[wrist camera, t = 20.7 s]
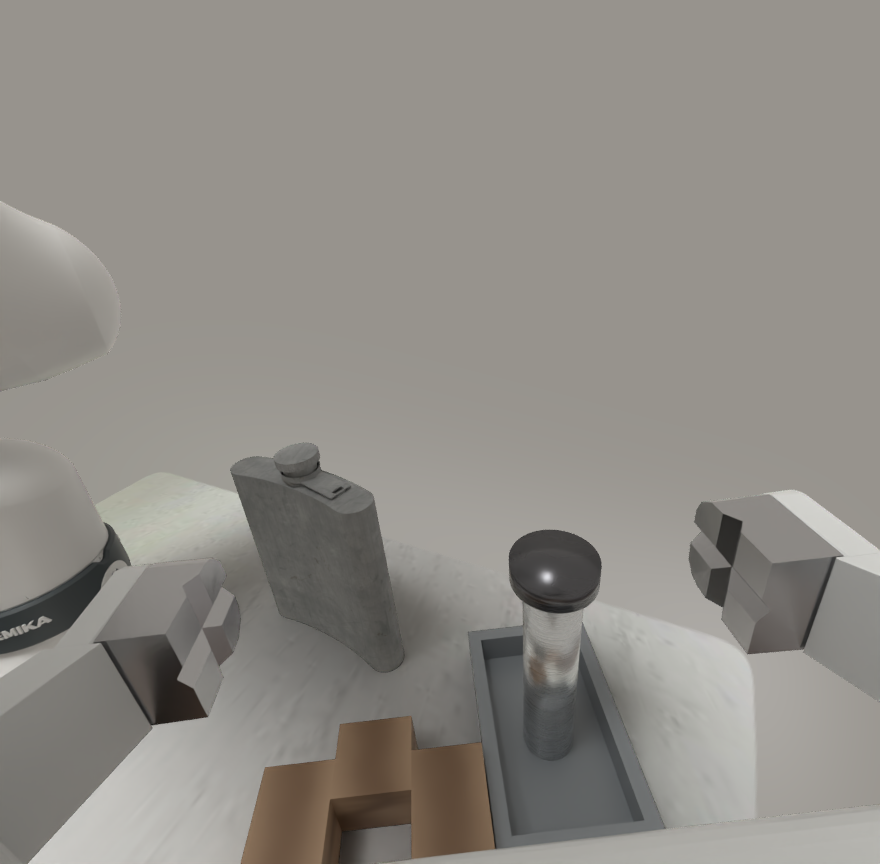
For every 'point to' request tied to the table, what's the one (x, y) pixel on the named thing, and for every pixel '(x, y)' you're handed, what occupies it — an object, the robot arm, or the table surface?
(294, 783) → the block
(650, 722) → the table surface
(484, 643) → the tray
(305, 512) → the hip flask
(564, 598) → the steel pin
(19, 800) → the robot arm
